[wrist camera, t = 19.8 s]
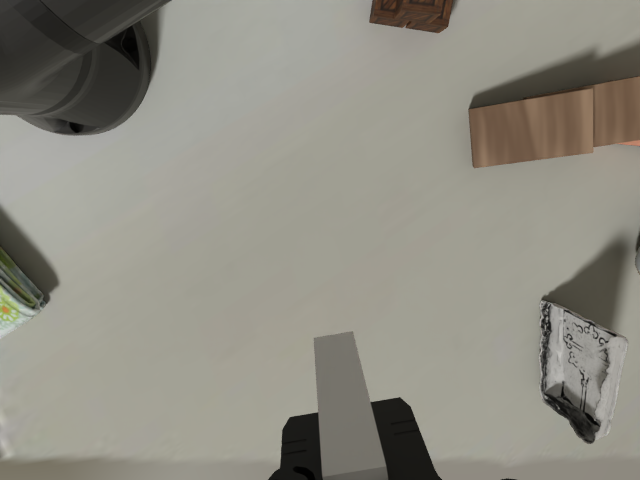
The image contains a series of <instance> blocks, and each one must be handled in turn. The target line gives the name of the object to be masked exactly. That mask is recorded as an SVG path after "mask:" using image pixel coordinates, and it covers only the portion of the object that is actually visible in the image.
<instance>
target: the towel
mask: <svg viewBox="0 0 640 480" xmlns="http://www.w3.org/2000/svg"><path fill="white" fill-rule="evenodd" d="M43 297H44V295H43V293H42V292H41V291H40V290H38V289H37V287H36V286H35V285H34V284H33V283H32V282H31V281H30V280H29V278H28V277H27V276H26V275H25V274H24V273H23V272H22V271H21V270H20V269H19V267H18V266H17V265H16V264H15V263H14V262H13V260H12V259H11V258H10V257H9V256H8V255H7V253H6V252H5V251H4V250H3V249H2V248H1V246H0V338H2V337H4V336H5V335H7V334H8V333H10V332H12V331H13V330H15V329H17V328H18V327H20V326H21V325H23V324H24V323H26V322H27V321H29V320H30V319H32V318H33V317H34V316H36V315H37V314H38V313H39V312H40V311H41V310H42V309H43V308H44V307H45V306H46V302H45V301H43Z"/></svg>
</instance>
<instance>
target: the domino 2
mask: <svg viewBox="0 0 640 480" xmlns="http://www.w3.org/2000/svg"><path fill="white" fill-rule="evenodd" d="M584 89H593V147H597V146H604V145H611V144H617V143H624V142H630V141H637V140H640V76H636V77H631V78H626V79H620V80H615V81H610V82H604V83H599V84H594V85H588V86H583V87H578V88H572V89H567V90H562V91H557V92H551V93H546V94H541V95H535V96H530V97H525V98H523V100H525V99H530V98H536V97H542V96H548V95H554V94H560V93H566V92H572V91H578V90H584Z"/></svg>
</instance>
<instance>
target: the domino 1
mask: <svg viewBox="0 0 640 480" xmlns="http://www.w3.org/2000/svg"><path fill="white" fill-rule="evenodd" d="M469 123H470V136H471V149H472V162H473V167H474V168H479V167H487V166H495V165H502V164H510V163H517V162H525V161H533V160H540V159H548V158H555V157H563V156H571V155H578V154H586V153H593V89H584V90H578V91H572V92H566V93H560V94H554V95H548V96H542V97H536V98H530V99H525V100H519V101H513V102H507V103H501V104H495V105H489V106H483V107H477V108H472V109H469Z"/></svg>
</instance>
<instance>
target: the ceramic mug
mask: <svg viewBox="0 0 640 480" xmlns="http://www.w3.org/2000/svg"><path fill="white" fill-rule="evenodd" d="M635 265H636V268H637V271H638V273H639V274H640V247H639V249H638V251H637V255H636V258H635Z"/></svg>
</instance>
